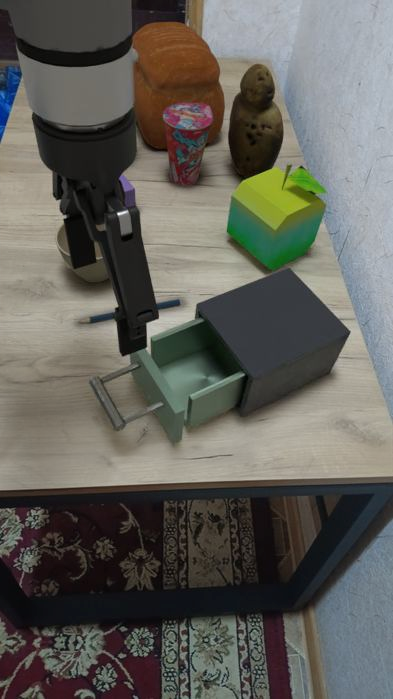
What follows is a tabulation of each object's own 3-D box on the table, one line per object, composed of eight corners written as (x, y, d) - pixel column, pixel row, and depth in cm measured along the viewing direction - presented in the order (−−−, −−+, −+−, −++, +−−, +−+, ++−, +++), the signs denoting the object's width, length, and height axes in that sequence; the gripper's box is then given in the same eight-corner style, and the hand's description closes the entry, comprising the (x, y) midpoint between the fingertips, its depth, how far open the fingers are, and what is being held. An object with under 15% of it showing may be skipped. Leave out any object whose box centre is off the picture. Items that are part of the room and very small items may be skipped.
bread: (194, 95, 112) (200, 9, 99) (227, 145, 100) (239, 56, 87) (119, 101, 108) (114, 13, 94) (144, 155, 96) (142, 63, 82)
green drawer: (125, 468, 56) (122, 439, 50) (85, 393, 62) (78, 359, 56) (265, 398, 63) (276, 365, 57) (218, 336, 69) (224, 301, 63)
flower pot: (54, 259, 77) (46, 222, 71) (114, 243, 80) (111, 206, 74) (75, 302, 72) (68, 266, 66) (138, 283, 75) (137, 247, 69)
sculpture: (218, 157, 97) (231, 47, 81) (259, 155, 99) (279, 47, 83) (234, 199, 89) (252, 86, 73) (278, 196, 91) (305, 85, 75)
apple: (264, 275, 78) (284, 194, 66) (225, 240, 82) (237, 159, 70) (311, 250, 82) (338, 170, 70) (271, 218, 87) (290, 138, 75)
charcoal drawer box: (241, 418, 62) (253, 378, 55) (191, 347, 68) (196, 303, 61) (329, 373, 67) (351, 331, 60) (275, 311, 73) (289, 267, 66)
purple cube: (102, 202, 86) (99, 180, 83) (124, 196, 88) (123, 174, 84) (112, 217, 84) (110, 195, 80) (135, 210, 85) (135, 188, 82)
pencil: (180, 306, 73) (79, 327, 69) (178, 301, 74) (77, 321, 70) (180, 302, 72) (78, 323, 69) (178, 297, 73) (77, 317, 69)
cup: (202, 194, 89) (207, 132, 80) (156, 186, 90) (157, 123, 80) (211, 166, 95) (217, 105, 85) (168, 159, 96) (170, 96, 86)
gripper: (212, 189, 31) (193, 378, 48) (73, 32, 43) (96, 226, 60) (99, 220, 28) (121, 408, 45) (-14, 44, 41) (36, 242, 58)
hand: (107, 304), depth 53 cm, fingers open, 13 cm apart
